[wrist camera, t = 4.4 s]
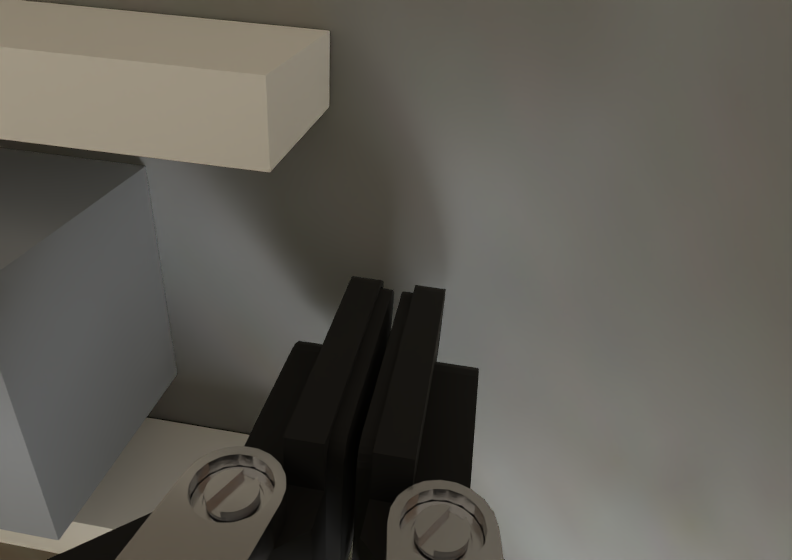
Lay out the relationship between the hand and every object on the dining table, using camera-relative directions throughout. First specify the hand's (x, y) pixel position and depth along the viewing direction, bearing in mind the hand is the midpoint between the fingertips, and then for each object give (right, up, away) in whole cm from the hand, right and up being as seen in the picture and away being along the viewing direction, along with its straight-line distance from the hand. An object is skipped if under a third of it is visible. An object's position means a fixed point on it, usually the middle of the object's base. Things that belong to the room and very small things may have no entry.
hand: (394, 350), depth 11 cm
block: (-7, +2, +2) cm, 8 cm away
